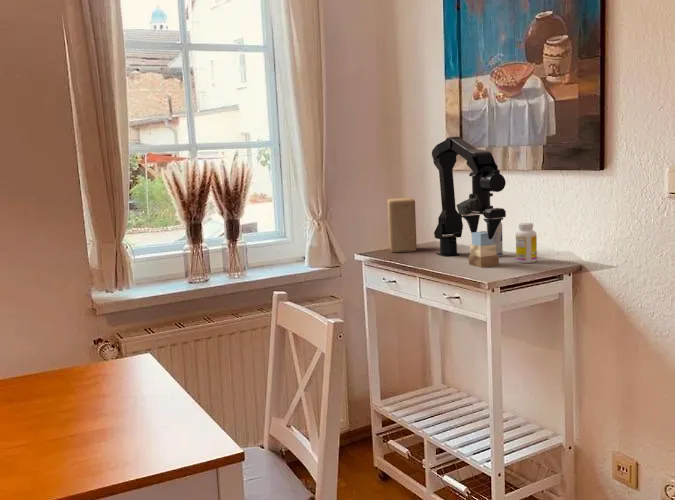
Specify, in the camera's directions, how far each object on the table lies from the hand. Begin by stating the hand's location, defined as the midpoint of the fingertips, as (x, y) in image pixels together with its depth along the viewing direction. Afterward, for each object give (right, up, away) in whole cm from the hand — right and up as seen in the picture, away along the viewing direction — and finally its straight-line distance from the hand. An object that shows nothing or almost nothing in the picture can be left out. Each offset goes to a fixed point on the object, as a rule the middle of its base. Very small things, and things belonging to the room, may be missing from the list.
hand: (482, 237), depth 226 cm
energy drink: (+8, -6, +16) cm, 19 cm away
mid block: (+1, -6, +1) cm, 6 cm away
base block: (+1, -9, +1) cm, 9 cm away
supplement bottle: (+15, -8, +2) cm, 18 cm away
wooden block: (-22, -4, +39) cm, 45 cm away
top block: (0, -2, 0) cm, 2 cm away
